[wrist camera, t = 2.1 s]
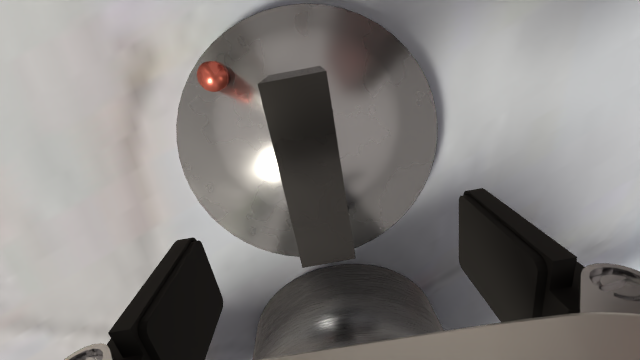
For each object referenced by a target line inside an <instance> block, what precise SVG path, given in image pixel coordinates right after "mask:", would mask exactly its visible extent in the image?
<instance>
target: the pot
mask: <svg viewBox="0 0 640 360" xmlns="http://www.w3.org/2000/svg"><path fill="white" fill-rule="evenodd" d="M440 331H444V330H443V328H442V326H441V324H440V322H439V320H438V318H437V316H436V314H435V313H434V311H433V309H432V307H431V305H430V303H429V301H428V299H427V297H426V296H425V294H424V293H423V292H422V290H421V289H420V288H419V287H418V286H417V285H416V284H415V283H413V282H412V281H411V280H409V279H408V278H406V277H405V276H403V275H401V274H399V273H397V272H395V271H392V270H389V269H386V268H382V267H378V266H373V265H364V264H344V265H336V266H330V267H326V268H321V269H318V270H315V271H312V272H310V273H307V274H305V275H303V276H301V277H299V278H297V279H295V280H293V281H292V282H290V283H289V284H287V285H286V286H284V287H283V288H282V289H281V290H280V291H278V292H277V293H276V294H275V295H274V297H273V298H272V299H271V300H270V301H269V303H268V304H267V305H266V307H265V308H264V310H263V312H262V314H261V317H260V320H259V323H258V328H257V334H256V340H255V347H254V353H253V359H252V360H260V359H266V358H272V357H278V356H284V355H291V354H297V353H303V352H310V351H316V350H323V349H329V348H335V347H342V346H348V345H355V344H361V343H368V342H374V341H380V340H387V339H393V338H400V337H407V336H413V335H420V334H427V333H433V332H440Z"/></svg>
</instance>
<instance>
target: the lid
mask: <svg viewBox="0 0 640 360" xmlns="http://www.w3.org/2000/svg"><path fill="white" fill-rule="evenodd" d="M176 128H177V146H178V152H179V158H180V162H181V165H182V168H183V171H184V175H185V177H186V179H187V181H188V183H189V185H190V188H191V190H192V191H193V193H194V194H195V196H196V198H197V199H198V201H199V202H200V204H201V205H202V206H203V207H204V209H205V210H206V211H207V212H208V214H209V215H210V216H211V217H212V218H213V219H214V220H215V221H216V222H218V223H219V224H220V225H221V226H222V227H223V228H225V229H226V230H227V231H229V232H230V233H231V234H233V235H234V236H236V237H238V238H239V239H241V240H243V241H244V242H246V243H248V244H251V245H253V246H255V247H257V248H260V249H263V250H266V251H269V252H272V253H277V254H282V255H287V256H297V257H300V259H301V263H302V267H303V268H304V267H310V266H315V265H321V264H327V263H332V262H338V261H343V260H349V259H355V252H354V248H356V247H359V246H361V245H363V244H365V243H367V242H369V241H371V240H373V239H374V238H376V237H378V236H379V235H381V234H382V233H384V232H385V231H386V230H388V229H389V228H390V227H392V226H393V225H394V224H395V223H396V222H397V221H398V220H399V219H400V218H401V217H402V216H403V215H404V214H405V213H406V212H407V211H408V210H409V208H410V207H411V206H412V205H413V203H414V202H415V200H416V199H417V197H418V196H419V194H420V192H421V191H422V189H423V187H424V185H425V183H426V181H427V178H428V176H429V174H430V171H431V167H432V164H433V161H434V156H435V151H436V146H437V129H438V128H437V116H436V109H435V104H434V100H433V95H432V93H431V90H430V87H429V85H428V82H427V79H426V77H425V75H424V74H423V72H422V70H421V68H420V66H419V64H418V63H417V61H416V60H415V59H414V57H413V56H412V55H411V53H410V52H409V51H408V49H407V48H406V47H405V46H404V45H403V44H402V43H401V42H400V41H399V40H398V39H397V38H396V37H395V36H394V35H392V34H391V33H390V32H388V31H387V30H386V29H384V28H383V27H382V26H380V25H379V24H377V23H375V22H373V21H372V20H370V19H368V18H366V17H364V16H362V15H360V14H357V13H354V12H351V11H349V10H346V9H343V8H338V7H333V6H328V5H323V4H295V5H286V6H280V7H276V8H272V9H269V10H265V11H262V12H259V13H257V14H255V15H253V16H250V17H248V18H246V19H244V20H242V21H241V22H239V23H237V24H236V25H234V26H233V27H231V28H230V29H228V30H227V31H225V32H224V33H223V34H222V35H221V36H220V37H219V38H217V39H216V40H215V41H214V42H213V43H212V44H211V45H210V46H209V48H208V49H207V50H206V51H205V52H204V53H203V55H202V56H201V57H200V58H199V60H198V62H197V63H196V65H195V67H194V68H193V70H192V71H191V73H190V75H189V78H188V80H187V82H186V85H185V87H184V89H183V92H182V96H181V100H180V104H179V107H178V116H177V124H176Z"/></svg>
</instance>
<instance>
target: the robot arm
mask: <svg viewBox="0 0 640 360" xmlns="http://www.w3.org/2000/svg"><path fill="white" fill-rule="evenodd" d="M576 260H577V257H576V256H575V255H573V254H572V253H571V252H569V251H568V250H567V249H565V248H564V247H562V246H561V245H560V244H558V243H557V242H556V241H554V240H553V239H552V238H550V237H549V236H547V235H546V234H545V233H543V232H542V231H541V230H539V229H538V228H537V227H535V226H534V225H533V224H531V223H530V222H528V221H527V220H526V219H524V218H523V217H522V216H520V215H519V214H518V213H516V212H515V211H513V210H512V209H511V208H509V207H508V206H507V205H505V204H504V203H503V202H501V201H500V200H499V199H497V198H496V197H494V196H493V195H492V194H490V193H489V192H488V191H486V190H485V189H483V188H481V189H475V190H469V191H465V192H464V195H463V196H460V198H459V262H460V265H461V268H462V269H463V271H464V272H465V273H466V275H467V276H468V278H469V279H470V280H471V282H472V283H473V284H474V286H475V287H476V288H477V290H478V291H479V293H480V294H481V295H482V297H483V298H484V299H485V301H486V302H487V303H488V305H489V306H490V308H491V309H492V310H493V312H494V313H495V314H496V316H497V317H498V318H499V320H500V321H501V323H494V324H487V325H480V326H474V327H467V328H460V329H454V330H447V331H440V332H433V333H427V334H420V335H413V336H407V337H400V338H393V339H387V340H380V341H374V342H368V343H361V344H355V345H348V346H342V347H335V348H329V349H323V350H316V351H310V352H303V353H297V354H291V355H284V356H278V357H272V358H266V359H260V360H640V271H637V270H635V269H632V268H628V267H625V266H621V265H616V264H608V263H596V264H592V265H588V266H586V267H584V266H582V265H581V264H580V263H578V262H577V261H576ZM222 308H223V298H222V295H221V293H220V290H219V287H218V285H217V282H216V279H215V277H214V274H213V271H212V269H211V266H210V264H209V261H208V258H207V256H206V253H205V250H204V248H203V245H202V243H201V242H200V241H197V240H196V239H195V238H188V239H182V240H177V241H176V242H175V243H174V244H173V246H172V247H171V248H170V250H169V251H168V252H167V254H166V255H165V256H164V258H163V259H162V261H161V262H160V263H159V265H158V266H157V267H156V269H155V270H154V271H153V273H152V274H151V275H150V277H149V278H148V280H147V281H146V282H145V284H144V285H143V286H142V288H141V289H140V290H139V292H138V293H137V294H136V296H135V297H134V299H133V300H132V301H131V303H130V304H129V305H128V307H127V308H126V309H125V311H124V312H123V313H122V315H121V316H120V318H119V319H118V320H117V322H116V323H115V324H114V326H113V327H112V328H111V330H110V331H109V335H110V337H111V339H110V341H109V342H108V344H107V345H105V344H102V343H100V344H93V345H90V346H86V347H84V348H82V349H80V350H78V351H76V352H74V353H73V354H71V355H70V356H68V357H67V358H65V359H64V360H205V357H206V354H207V351H208V348H209V346H210V343H211V340H212V337H213V334H214V331H215V328H216V325H217V323H218V320H219V317H220V314H221V311H222Z"/></svg>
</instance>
